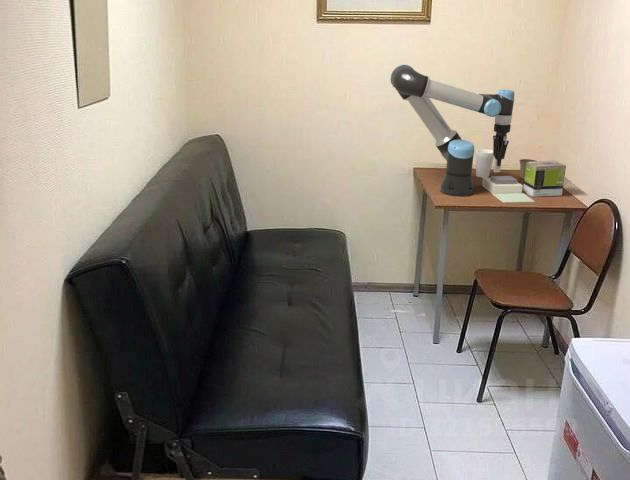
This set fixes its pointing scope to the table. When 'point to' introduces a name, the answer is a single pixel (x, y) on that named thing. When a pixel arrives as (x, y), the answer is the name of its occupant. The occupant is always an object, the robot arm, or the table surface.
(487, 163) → the foam cup
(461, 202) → the table surface
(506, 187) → the plate
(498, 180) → the rectangular block
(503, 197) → the mat
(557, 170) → the tea box
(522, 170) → the flower pot
